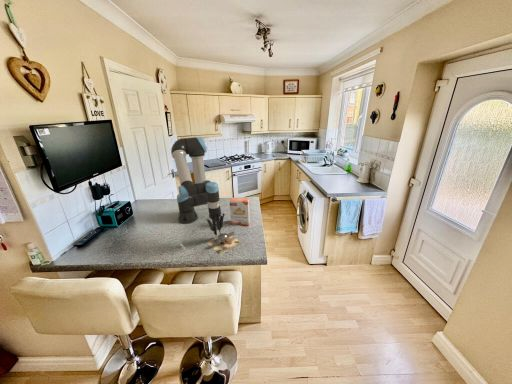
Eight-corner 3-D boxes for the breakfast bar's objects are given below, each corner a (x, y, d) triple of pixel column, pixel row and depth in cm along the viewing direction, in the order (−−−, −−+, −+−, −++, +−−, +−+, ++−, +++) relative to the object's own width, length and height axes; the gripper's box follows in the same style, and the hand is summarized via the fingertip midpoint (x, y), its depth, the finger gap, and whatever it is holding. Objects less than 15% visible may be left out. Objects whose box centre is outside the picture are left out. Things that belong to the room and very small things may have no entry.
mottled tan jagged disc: (206, 243, 133) (205, 239, 132) (227, 233, 144) (227, 229, 142) (219, 256, 121) (219, 251, 120) (242, 244, 132) (241, 240, 130)
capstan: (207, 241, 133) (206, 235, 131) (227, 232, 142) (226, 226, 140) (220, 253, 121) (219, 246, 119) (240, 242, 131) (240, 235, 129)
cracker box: (231, 225, 154) (229, 201, 146) (232, 221, 159) (230, 197, 152) (249, 226, 152) (247, 201, 144) (250, 222, 158) (249, 198, 150)
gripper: (207, 211, 119) (212, 244, 128) (226, 205, 127) (229, 236, 136) (201, 207, 124) (206, 239, 133) (220, 201, 132) (223, 231, 141)
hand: (217, 237), depth 135 cm, fingers closed
